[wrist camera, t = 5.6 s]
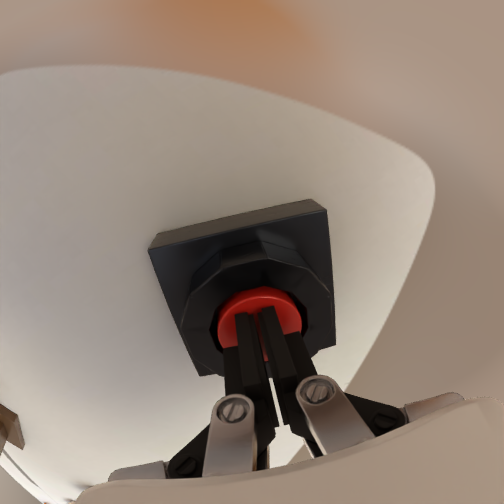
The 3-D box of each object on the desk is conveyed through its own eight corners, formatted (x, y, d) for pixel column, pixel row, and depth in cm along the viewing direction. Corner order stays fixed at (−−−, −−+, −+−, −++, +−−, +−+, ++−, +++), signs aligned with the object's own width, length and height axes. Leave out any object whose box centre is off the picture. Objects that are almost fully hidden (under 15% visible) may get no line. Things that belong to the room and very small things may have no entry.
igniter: (156, 233, 14) (136, 267, 10) (311, 198, 14) (343, 220, 10) (200, 352, 17) (198, 400, 13) (324, 323, 17) (347, 366, 14)
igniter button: (207, 286, 13) (207, 307, 11) (287, 267, 13) (297, 286, 11) (227, 345, 14) (229, 369, 12) (296, 329, 14) (305, 352, 12)
